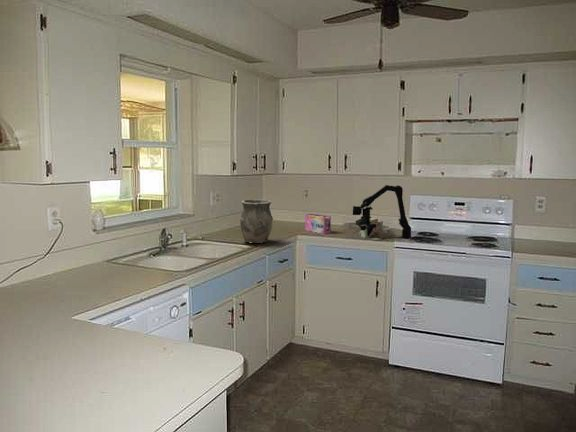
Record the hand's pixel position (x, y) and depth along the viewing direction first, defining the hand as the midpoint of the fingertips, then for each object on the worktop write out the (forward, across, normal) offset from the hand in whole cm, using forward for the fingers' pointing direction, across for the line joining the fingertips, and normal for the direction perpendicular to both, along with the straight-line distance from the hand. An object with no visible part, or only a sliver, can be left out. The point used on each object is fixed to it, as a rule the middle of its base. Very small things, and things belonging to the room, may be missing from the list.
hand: (365, 235), depth 361 cm
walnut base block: (+1, +7, +9) cm, 11 cm away
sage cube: (+1, 0, 0) cm, 1 cm away
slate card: (+1, +13, 0) cm, 13 cm away
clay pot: (+1, -18, -83) cm, 84 cm away
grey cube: (+1, 0, +20) cm, 20 cm away
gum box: (+1, -37, -21) cm, 43 cm away
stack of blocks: (+1, -11, +15) cm, 19 cm away
